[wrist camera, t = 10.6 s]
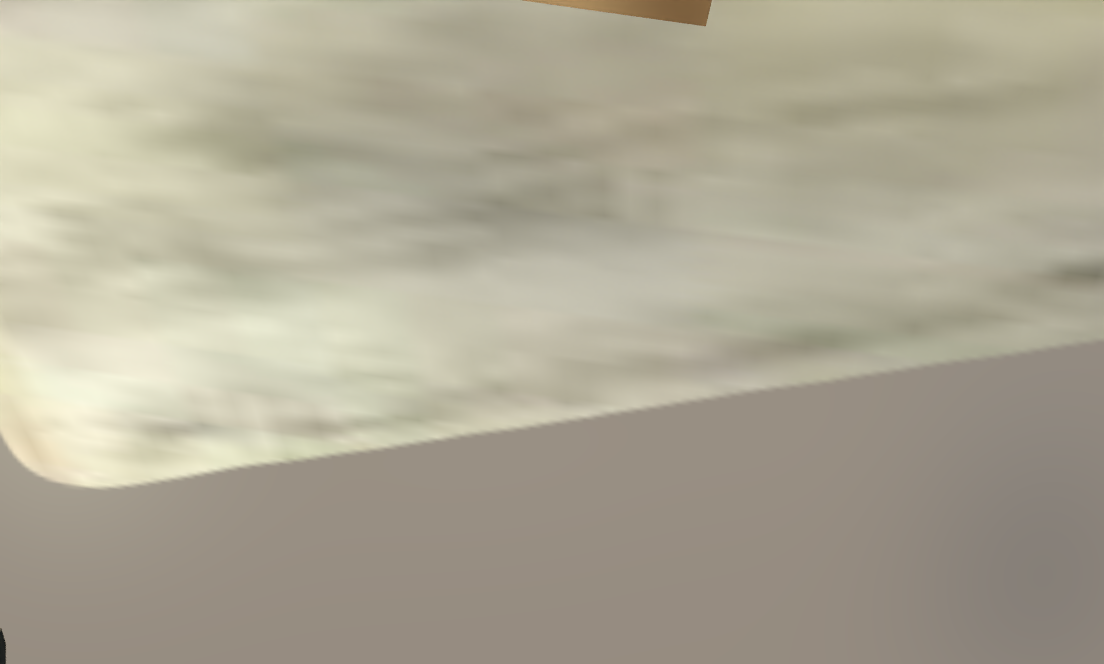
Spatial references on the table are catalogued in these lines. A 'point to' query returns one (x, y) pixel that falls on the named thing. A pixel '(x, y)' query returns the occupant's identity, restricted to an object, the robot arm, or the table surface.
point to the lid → (646, 8)
